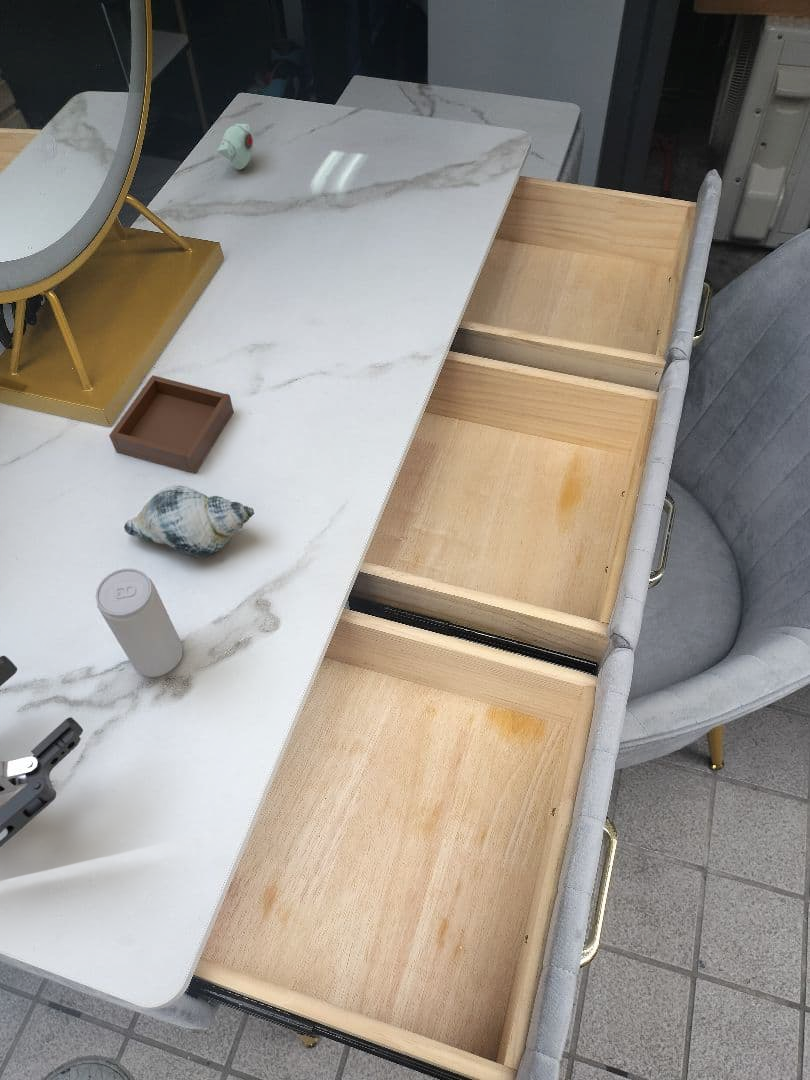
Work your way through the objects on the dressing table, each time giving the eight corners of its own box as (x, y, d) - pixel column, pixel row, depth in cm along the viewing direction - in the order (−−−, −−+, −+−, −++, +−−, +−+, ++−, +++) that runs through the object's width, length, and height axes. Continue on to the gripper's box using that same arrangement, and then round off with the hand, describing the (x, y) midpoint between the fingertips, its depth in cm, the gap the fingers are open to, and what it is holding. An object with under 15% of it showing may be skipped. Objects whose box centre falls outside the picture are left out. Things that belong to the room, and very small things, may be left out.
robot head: (242, 152, 126) (235, 108, 121) (266, 158, 126) (260, 114, 120) (218, 180, 122) (209, 136, 117) (242, 185, 121) (235, 141, 116)
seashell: (168, 507, 89) (256, 553, 86) (117, 534, 83) (209, 585, 80) (171, 456, 86) (263, 502, 82) (118, 481, 80) (215, 531, 76)
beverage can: (131, 639, 78) (93, 572, 68) (182, 629, 79) (151, 561, 69) (133, 684, 76) (94, 621, 66) (186, 673, 76) (154, 610, 66)
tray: (116, 452, 92) (108, 435, 89) (158, 392, 97) (152, 374, 95) (195, 474, 90) (190, 457, 88) (234, 411, 95) (229, 394, 93)
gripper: (-113, 911, 53) (86, 726, 60) (-226, 777, 58) (-29, 620, 65) (-60, 932, 59) (115, 761, 66) (-166, 808, 64) (7, 662, 71)
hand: (43, 691), depth 66 cm, fingers open, 8 cm apart
